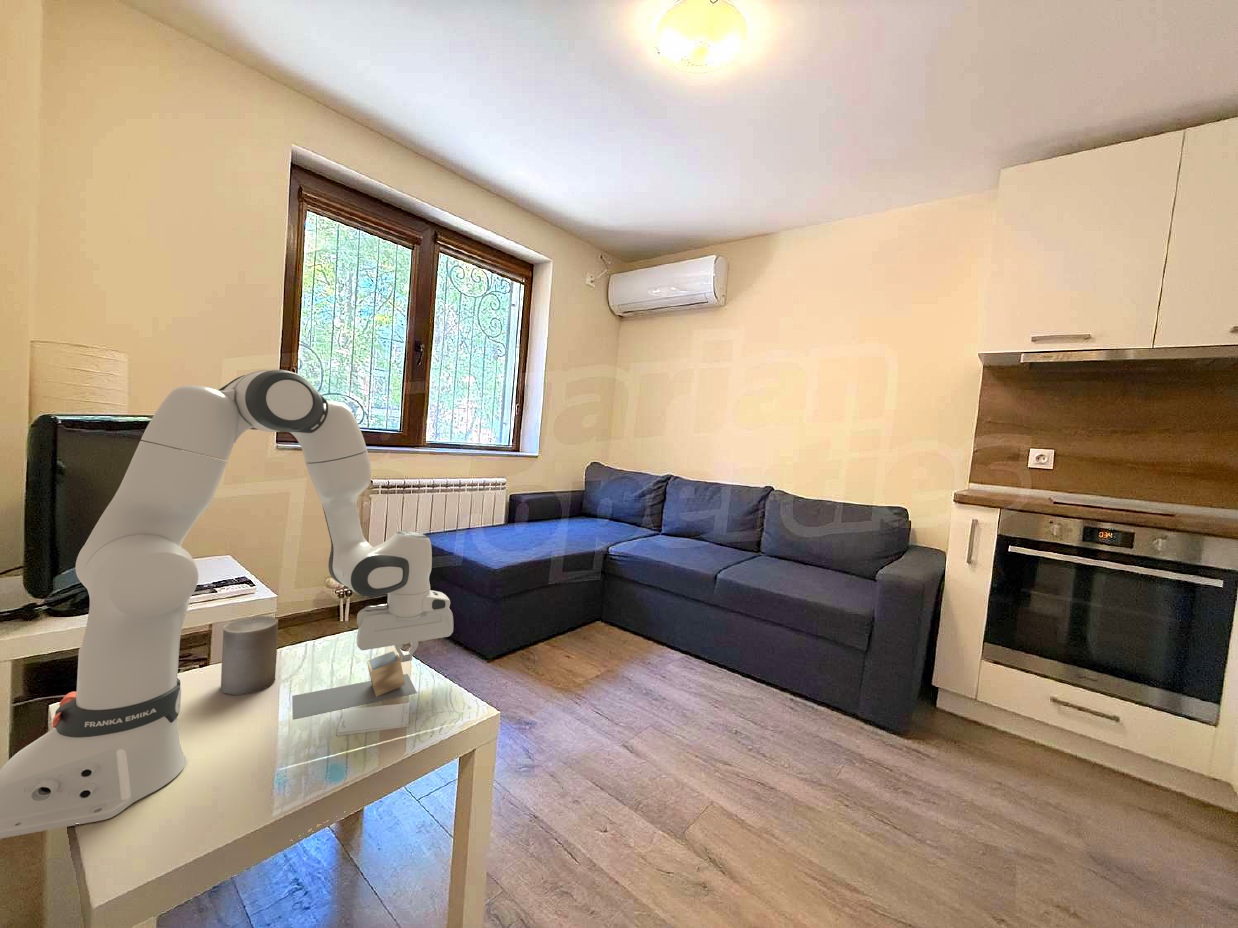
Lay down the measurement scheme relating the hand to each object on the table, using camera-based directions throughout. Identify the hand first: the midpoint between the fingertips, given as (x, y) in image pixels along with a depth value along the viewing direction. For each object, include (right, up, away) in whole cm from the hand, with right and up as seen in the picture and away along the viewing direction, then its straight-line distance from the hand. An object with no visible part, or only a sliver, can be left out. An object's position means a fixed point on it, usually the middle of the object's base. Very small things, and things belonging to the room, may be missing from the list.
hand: (405, 660), depth 109 cm
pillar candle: (-33, -4, -4) cm, 33 cm away
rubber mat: (-8, -5, -5) cm, 11 cm away
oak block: (-3, -5, -2) cm, 6 cm away
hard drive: (0, -7, -14) cm, 16 cm away
